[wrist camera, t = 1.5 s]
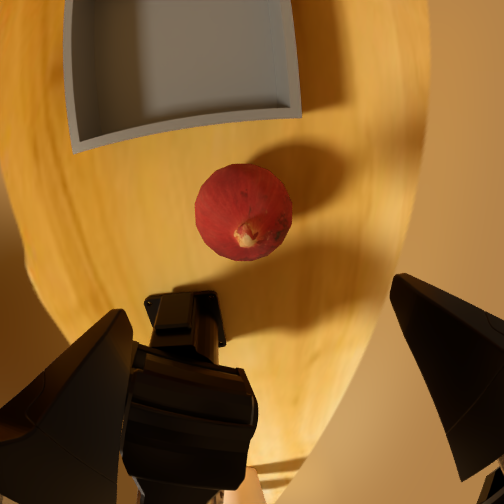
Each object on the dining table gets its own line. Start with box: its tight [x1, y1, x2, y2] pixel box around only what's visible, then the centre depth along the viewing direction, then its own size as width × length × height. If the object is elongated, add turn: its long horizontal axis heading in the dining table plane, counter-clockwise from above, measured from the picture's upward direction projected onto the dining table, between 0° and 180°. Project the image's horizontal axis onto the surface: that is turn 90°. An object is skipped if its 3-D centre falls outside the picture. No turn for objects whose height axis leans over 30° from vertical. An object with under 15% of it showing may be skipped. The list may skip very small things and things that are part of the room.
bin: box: [63, 0, 302, 154], centre depth 13 cm, size 13×13×4 cm
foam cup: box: [223, 467, 266, 504], centre depth 40 cm, size 10×9×13 cm
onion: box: [195, 164, 292, 261], centre depth 17 cm, size 6×6×8 cm
